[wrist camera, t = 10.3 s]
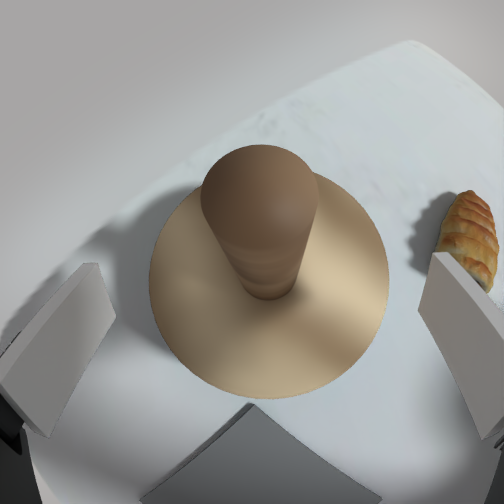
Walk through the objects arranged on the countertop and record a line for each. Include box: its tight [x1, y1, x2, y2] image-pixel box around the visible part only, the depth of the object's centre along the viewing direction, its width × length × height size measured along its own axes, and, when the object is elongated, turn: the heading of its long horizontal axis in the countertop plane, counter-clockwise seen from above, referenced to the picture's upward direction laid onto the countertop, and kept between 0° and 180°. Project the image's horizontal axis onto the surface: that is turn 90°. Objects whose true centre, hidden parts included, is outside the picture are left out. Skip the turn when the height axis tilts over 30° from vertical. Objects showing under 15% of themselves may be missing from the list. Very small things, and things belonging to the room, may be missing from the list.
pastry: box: [435, 190, 499, 294], centre depth 20 cm, size 9×7×4 cm
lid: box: [149, 145, 389, 399], centre depth 13 cm, size 14×14×10 cm
